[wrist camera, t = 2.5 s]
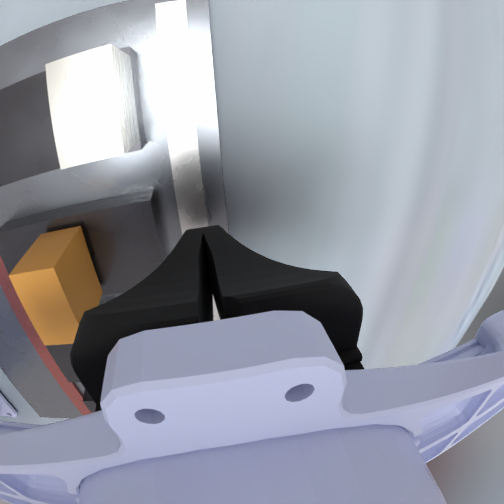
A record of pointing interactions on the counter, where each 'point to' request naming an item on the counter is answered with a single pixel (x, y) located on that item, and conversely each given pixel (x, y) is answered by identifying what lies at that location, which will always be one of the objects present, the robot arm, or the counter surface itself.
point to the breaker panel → (103, 161)
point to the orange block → (57, 284)
